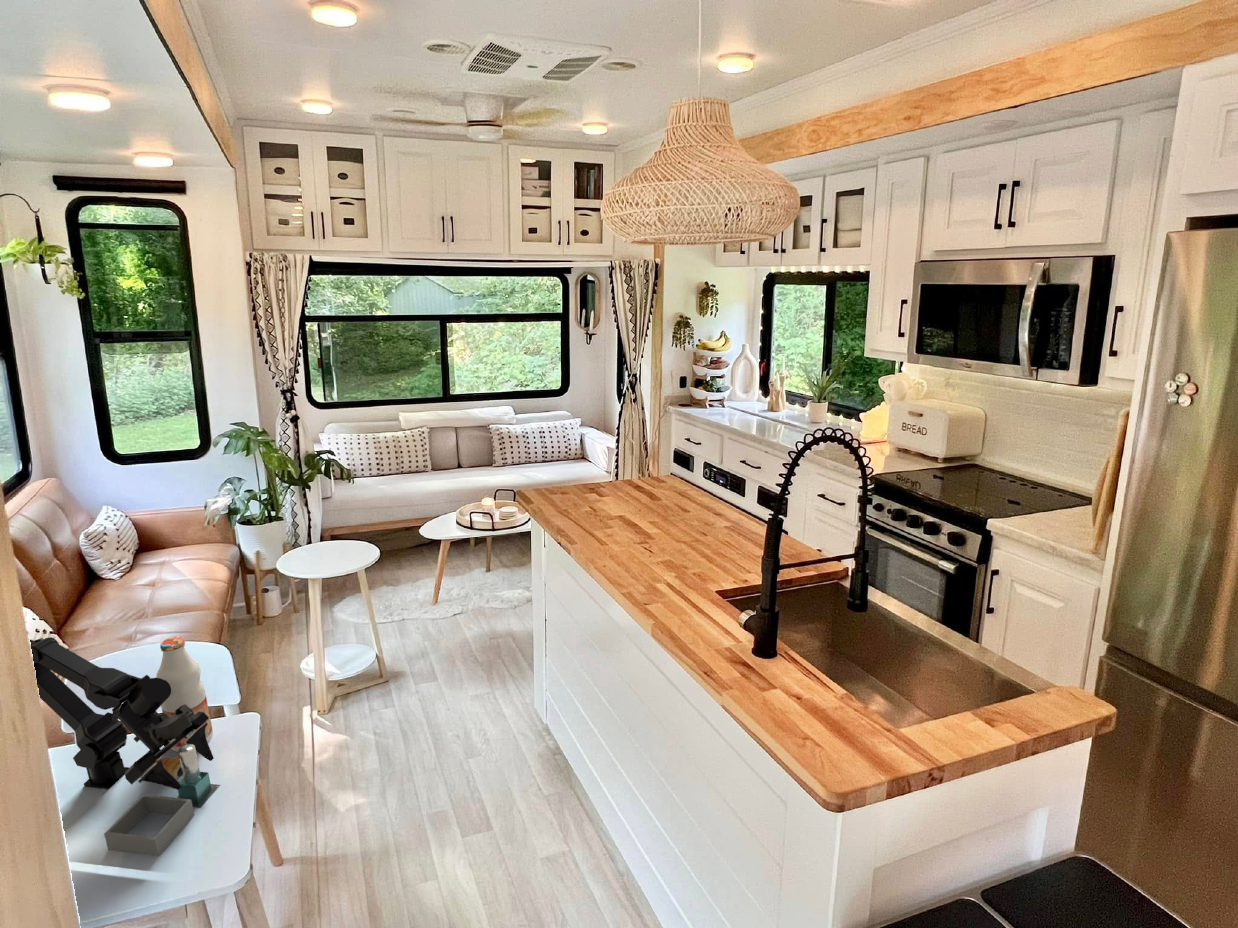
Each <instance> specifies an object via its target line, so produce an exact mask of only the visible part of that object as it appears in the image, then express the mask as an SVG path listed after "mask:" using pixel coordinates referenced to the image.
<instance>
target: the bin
mask: <svg viewBox="0 0 1238 928" xmlns="http://www.w3.org/2000/svg"><path fill="white" fill-rule="evenodd" d="M194 811H195V810H194V807H193V806H192V801H191V799H182V798H177V797H172V796H171V797H170V796H162V795H151V794H145V793H143V794H142V795H141V796H140V797H138V799H137V800H136V801H135V802H134V803H133V804H132V805H130V807H129V808H128V809H127V810H126V811H125V812H124V813H123V814H122V815H121V816H119V818H118V819H117V820H116V821H115V823H113V824H112V826H110V827H109V828H108V829H107V830H106V831H105V832H104V833H103V836H104V838H105V842H106V847H107V850H108V851H115V852H122V853H123V852H124V853H130V854H139V855H149V856H156V857H159V856H160V855H161V854H162V853H163V852H164V850H165V849H166V848H167V847H168V846H169V845H170V844H171V842H173V840H174V839H175V838H176V837H177V836H178V834H180V832H181V831H182V830H183V829H184V828H185V826H186V825H187V824H188V823H189V822H190V821H191V820H192V819H193V817H194V816H195V812H194ZM147 813H154V814H161V815H171V816H172V817H171V818H170V819H169V820H168V821H167V823H165V824H164V826H163V827H161V829H160V830H159V831H158V832H157V834H156V835H155V836H149V835H148V836H147V835H138V834H130V833H129V832H130V831H131V830H132V829H133V828H134V827H135V826H136V824H137V823H138V822H139V821H141V820H142V818H143V817H144V816H145V815H147Z"/></svg>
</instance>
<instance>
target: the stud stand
mask: <svg viewBox="0 0 1238 928" xmlns="http://www.w3.org/2000/svg"><path fill="white" fill-rule="evenodd" d="M210 784H211V790H210V791H209V792H208V793H207V794H206V795H205V796H204V797H203V799H202V800H201V801H200V802H199V803H196V802H192V806H193V808H197V809H201V808H202V807H203V806H204V805H205V804H206V802H207V801H208V800H209V799H210V798H211V797H212V796H213V794H214V793H215V792H216V791H217V790H218V789H219V787H220V786H221V784H215V783H210ZM176 798H179V795H177V797H176Z"/></svg>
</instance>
